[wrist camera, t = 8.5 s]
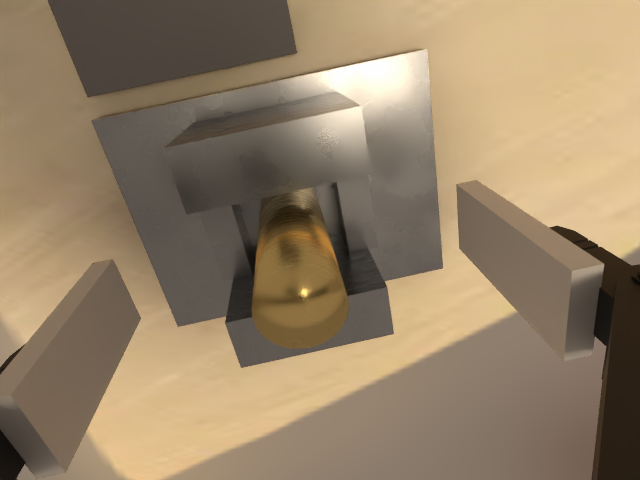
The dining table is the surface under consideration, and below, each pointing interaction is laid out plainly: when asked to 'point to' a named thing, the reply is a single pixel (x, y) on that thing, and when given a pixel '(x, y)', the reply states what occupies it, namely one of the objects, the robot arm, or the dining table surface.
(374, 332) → the bracket
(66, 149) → the dining table surface
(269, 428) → the dining table surface
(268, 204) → the peg
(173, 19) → the mat
